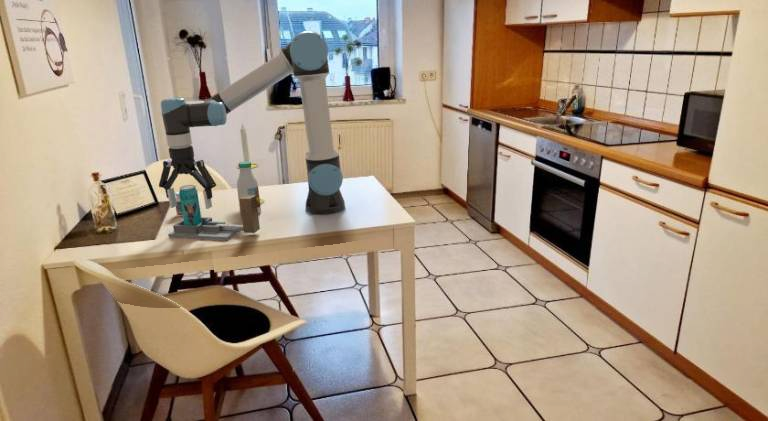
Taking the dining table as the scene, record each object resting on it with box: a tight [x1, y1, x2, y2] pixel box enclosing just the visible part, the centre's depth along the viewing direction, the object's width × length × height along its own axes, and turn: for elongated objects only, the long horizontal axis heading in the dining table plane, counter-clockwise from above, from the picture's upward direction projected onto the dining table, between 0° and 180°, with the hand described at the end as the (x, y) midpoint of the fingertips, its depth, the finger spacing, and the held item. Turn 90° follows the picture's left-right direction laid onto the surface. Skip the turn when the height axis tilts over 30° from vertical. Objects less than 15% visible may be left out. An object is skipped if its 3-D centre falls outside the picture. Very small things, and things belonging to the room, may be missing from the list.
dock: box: [167, 216, 242, 241], centre depth 173 cm, size 22×12×4 cm, turn 78°
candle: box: [236, 123, 265, 205], centre depth 200 cm, size 10×10×32 cm
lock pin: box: [215, 195, 261, 234], centre depth 169 cm, size 15×4×12 cm, turn 78°
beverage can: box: [179, 184, 202, 226], centre depth 172 cm, size 6×6×15 cm
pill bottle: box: [175, 190, 183, 217], centre depth 193 cm, size 5×5×9 cm
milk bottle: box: [236, 161, 262, 215], centre depth 189 cm, size 8×8×20 cm
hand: (191, 207), depth 172 cm, fingers open, 13 cm apart
